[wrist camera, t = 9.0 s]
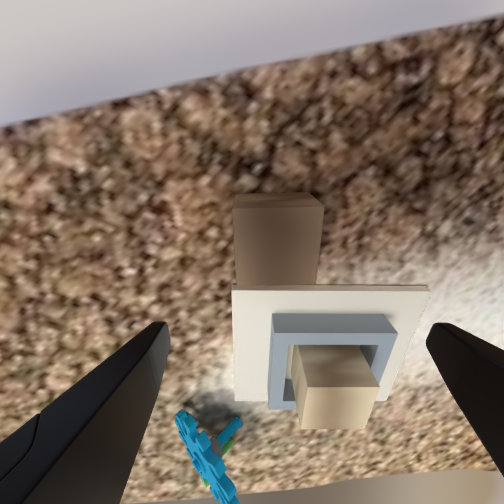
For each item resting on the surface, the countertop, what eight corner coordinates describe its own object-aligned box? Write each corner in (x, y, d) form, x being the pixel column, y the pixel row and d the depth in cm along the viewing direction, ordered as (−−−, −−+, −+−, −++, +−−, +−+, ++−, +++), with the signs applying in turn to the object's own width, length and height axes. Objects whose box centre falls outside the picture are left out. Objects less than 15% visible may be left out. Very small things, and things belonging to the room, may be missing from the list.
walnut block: (307, 191, 16) (324, 206, 13) (302, 256, 18) (315, 284, 15) (235, 193, 16) (231, 208, 13) (239, 257, 18) (236, 286, 15)
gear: (165, 402, 23) (230, 508, 18) (213, 365, 27) (279, 443, 22) (173, 444, 30) (224, 533, 24) (212, 409, 33) (263, 479, 28)
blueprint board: (424, 285, 20) (452, 309, 17) (382, 393, 26) (398, 423, 23) (232, 284, 19) (229, 308, 17) (235, 393, 25) (233, 424, 23)
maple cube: (351, 333, 21) (380, 387, 16) (341, 371, 23) (364, 428, 18) (295, 333, 21) (307, 387, 16) (290, 372, 23) (300, 429, 18)
